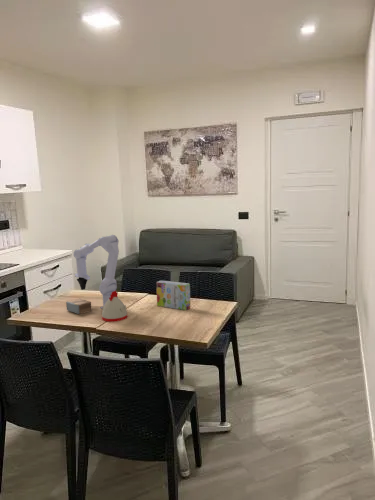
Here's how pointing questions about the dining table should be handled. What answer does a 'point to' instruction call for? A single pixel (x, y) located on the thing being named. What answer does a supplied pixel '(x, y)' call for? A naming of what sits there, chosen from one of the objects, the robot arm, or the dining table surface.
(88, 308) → the cabinet
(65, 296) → the dining table surface
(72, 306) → the door
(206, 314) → the dining table surface
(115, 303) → the kitchen timer
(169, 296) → the snack box
